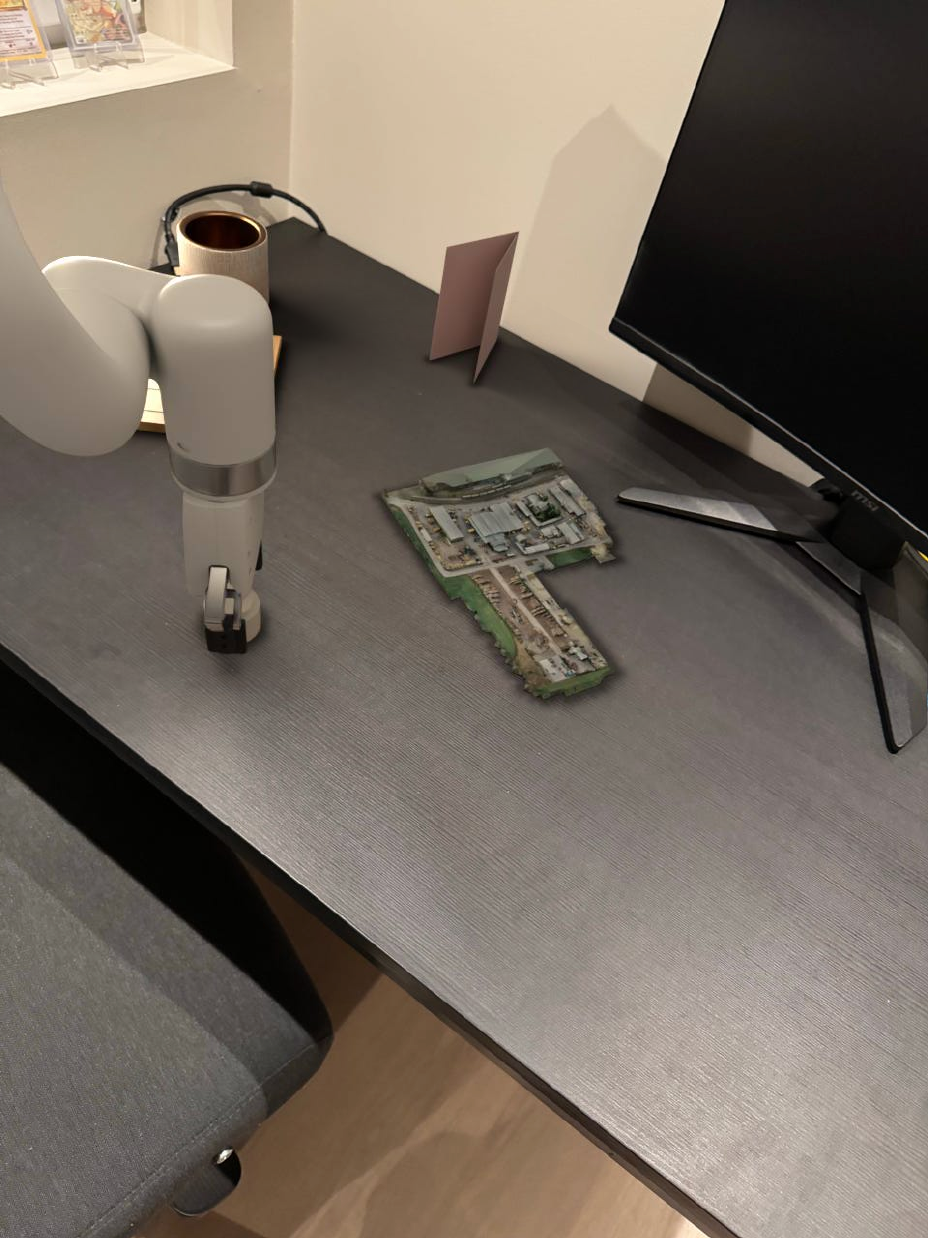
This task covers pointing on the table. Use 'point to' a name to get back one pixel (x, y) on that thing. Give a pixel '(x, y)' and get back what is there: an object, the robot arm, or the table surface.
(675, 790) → the table surface
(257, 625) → the tan tin with lid
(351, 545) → the table surface
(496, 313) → the greeting card
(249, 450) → the robot arm
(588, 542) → the model
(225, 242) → the planter
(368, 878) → the table surface
